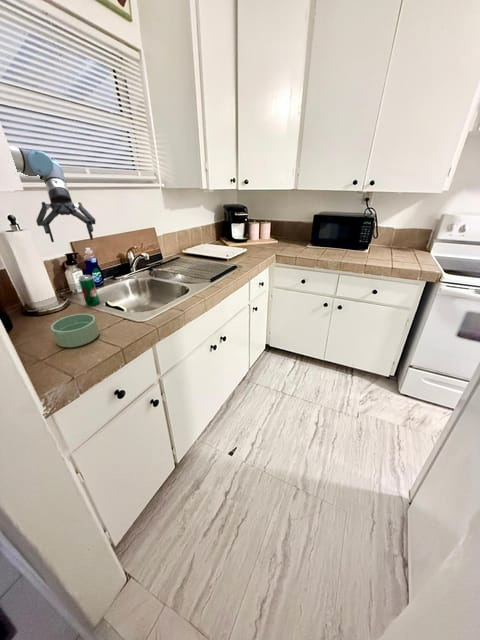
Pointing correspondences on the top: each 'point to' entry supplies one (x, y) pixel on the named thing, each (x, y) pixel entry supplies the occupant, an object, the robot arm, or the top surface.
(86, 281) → the soda can
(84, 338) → the bowl
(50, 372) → the top surface
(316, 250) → the top surface
